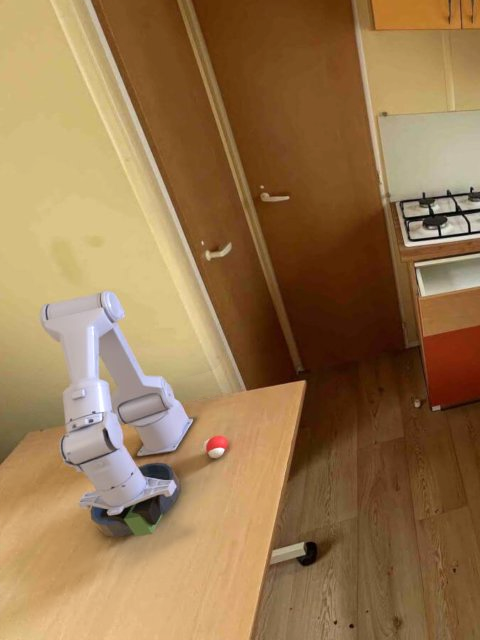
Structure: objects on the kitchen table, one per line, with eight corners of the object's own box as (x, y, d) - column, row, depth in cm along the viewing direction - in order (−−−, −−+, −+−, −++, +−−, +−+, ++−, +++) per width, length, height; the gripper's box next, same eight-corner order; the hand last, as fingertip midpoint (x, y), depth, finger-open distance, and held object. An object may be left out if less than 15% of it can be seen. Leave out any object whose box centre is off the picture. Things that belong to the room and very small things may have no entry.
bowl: (126, 481, 93) (117, 468, 91) (192, 471, 95) (185, 458, 93) (84, 544, 81) (72, 530, 79) (160, 531, 83) (151, 517, 81)
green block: (146, 517, 83) (135, 500, 80) (162, 515, 83) (151, 498, 81) (135, 536, 80) (123, 519, 77) (152, 533, 80) (140, 516, 78)
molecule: (233, 443, 102) (228, 431, 100) (222, 461, 97) (216, 448, 95) (212, 444, 101) (206, 432, 99) (200, 462, 97) (193, 449, 95)
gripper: (51, 504, 70) (89, 550, 76) (148, 489, 72) (177, 535, 79) (81, 466, 76) (114, 512, 83) (170, 454, 79) (195, 499, 85)
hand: (146, 521), depth 81 cm, fingers closed on green block, 3 cm apart
